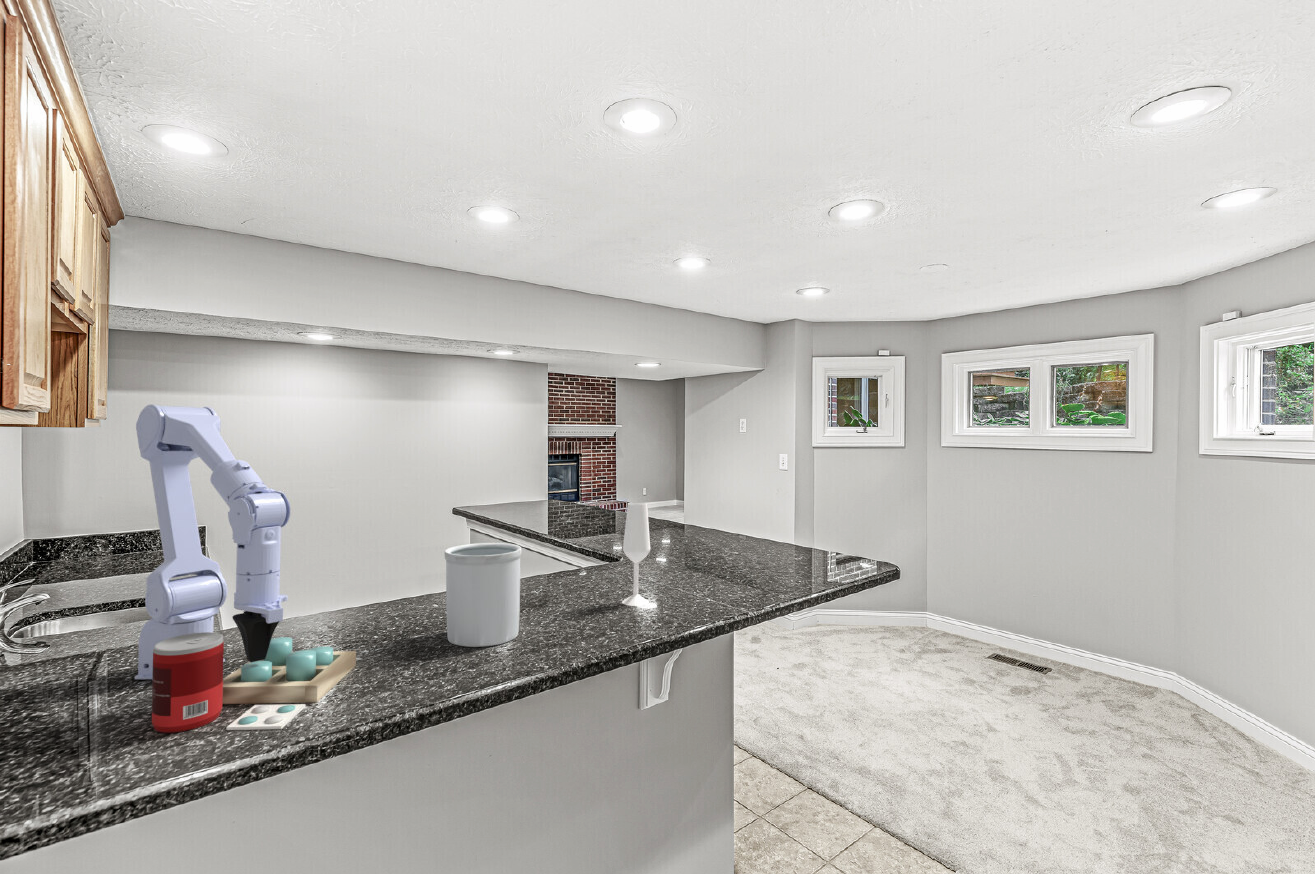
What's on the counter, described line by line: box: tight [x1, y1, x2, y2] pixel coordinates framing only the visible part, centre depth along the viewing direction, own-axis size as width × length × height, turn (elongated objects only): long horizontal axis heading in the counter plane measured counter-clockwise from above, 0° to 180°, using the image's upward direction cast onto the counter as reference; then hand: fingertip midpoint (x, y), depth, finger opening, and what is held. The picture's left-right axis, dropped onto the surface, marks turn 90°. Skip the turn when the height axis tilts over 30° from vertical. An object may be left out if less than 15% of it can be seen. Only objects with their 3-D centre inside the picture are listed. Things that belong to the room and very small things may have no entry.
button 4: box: [308, 646, 334, 666], centre depth 104 cm, size 4×4×4 cm
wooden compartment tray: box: [222, 650, 357, 705], centre depth 101 cm, size 15×15×2 cm
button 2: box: [264, 636, 293, 666], centre depth 104 cm, size 4×4×4 cm
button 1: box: [240, 661, 272, 682], centre depth 97 cm, size 4×4×4 cm
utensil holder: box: [444, 542, 523, 648], centre depth 126 cm, size 15×15×18 cm
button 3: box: [286, 649, 316, 681], centre depth 98 cm, size 4×4×4 cm
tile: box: [226, 703, 306, 731], centre depth 89 cm, size 7×7×1 cm
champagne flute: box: [621, 502, 651, 607], centre depth 154 cm, size 7×7×24 cm
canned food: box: [151, 632, 225, 734], centre depth 87 cm, size 8×8×11 cm
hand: (256, 659), depth 97 cm, fingers closed
